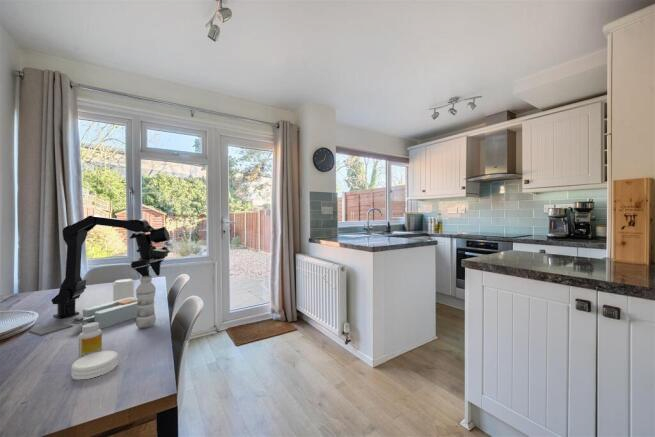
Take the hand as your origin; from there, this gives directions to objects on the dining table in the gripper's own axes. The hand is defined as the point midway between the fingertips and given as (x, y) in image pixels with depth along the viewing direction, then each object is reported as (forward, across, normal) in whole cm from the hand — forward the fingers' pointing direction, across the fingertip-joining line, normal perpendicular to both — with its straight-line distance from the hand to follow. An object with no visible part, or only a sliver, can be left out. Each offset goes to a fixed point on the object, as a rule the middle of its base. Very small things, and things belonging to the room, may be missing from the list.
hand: (153, 277), depth 125 cm
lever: (+9, -14, +14) cm, 22 cm away
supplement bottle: (+14, -42, +2) cm, 45 cm away
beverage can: (+11, +9, +21) cm, 25 cm away
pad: (+8, -19, +30) cm, 37 cm away
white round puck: (+16, -51, -5) cm, 54 cm away
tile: (+9, -7, +10) cm, 15 cm away
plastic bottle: (+16, -21, -4) cm, 27 cm away
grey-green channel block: (+12, -10, +13) cm, 21 cm away
